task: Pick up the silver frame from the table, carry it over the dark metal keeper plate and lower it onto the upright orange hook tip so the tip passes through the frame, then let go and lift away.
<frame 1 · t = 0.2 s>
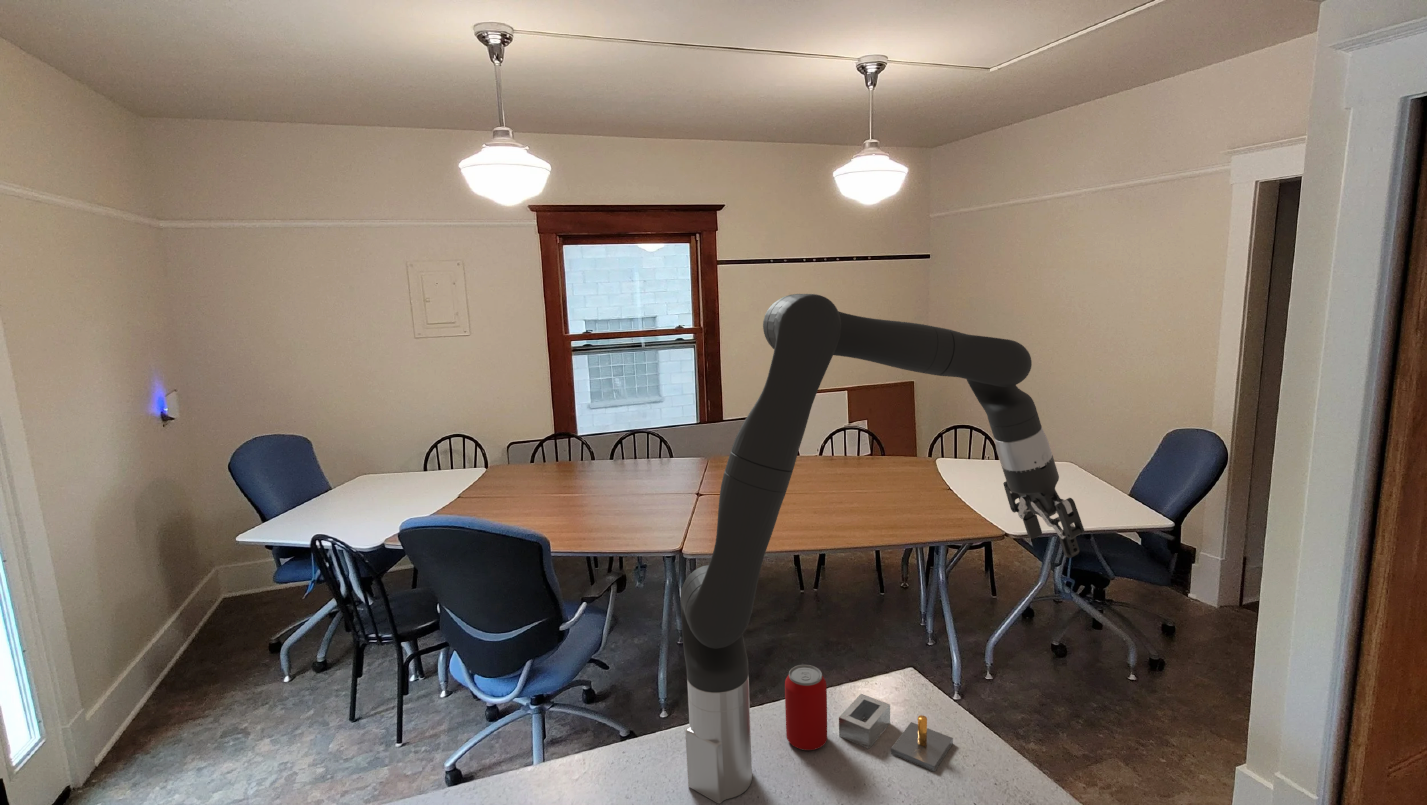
hand: (1053, 545, 108), 31 cm above the table, tool tilted 20°, fingers open, 8 cm apart
beverage can: (806, 741, 110), on the table
keeper: (922, 748, 107), on the table
silver frame: (864, 729, 112), on the table
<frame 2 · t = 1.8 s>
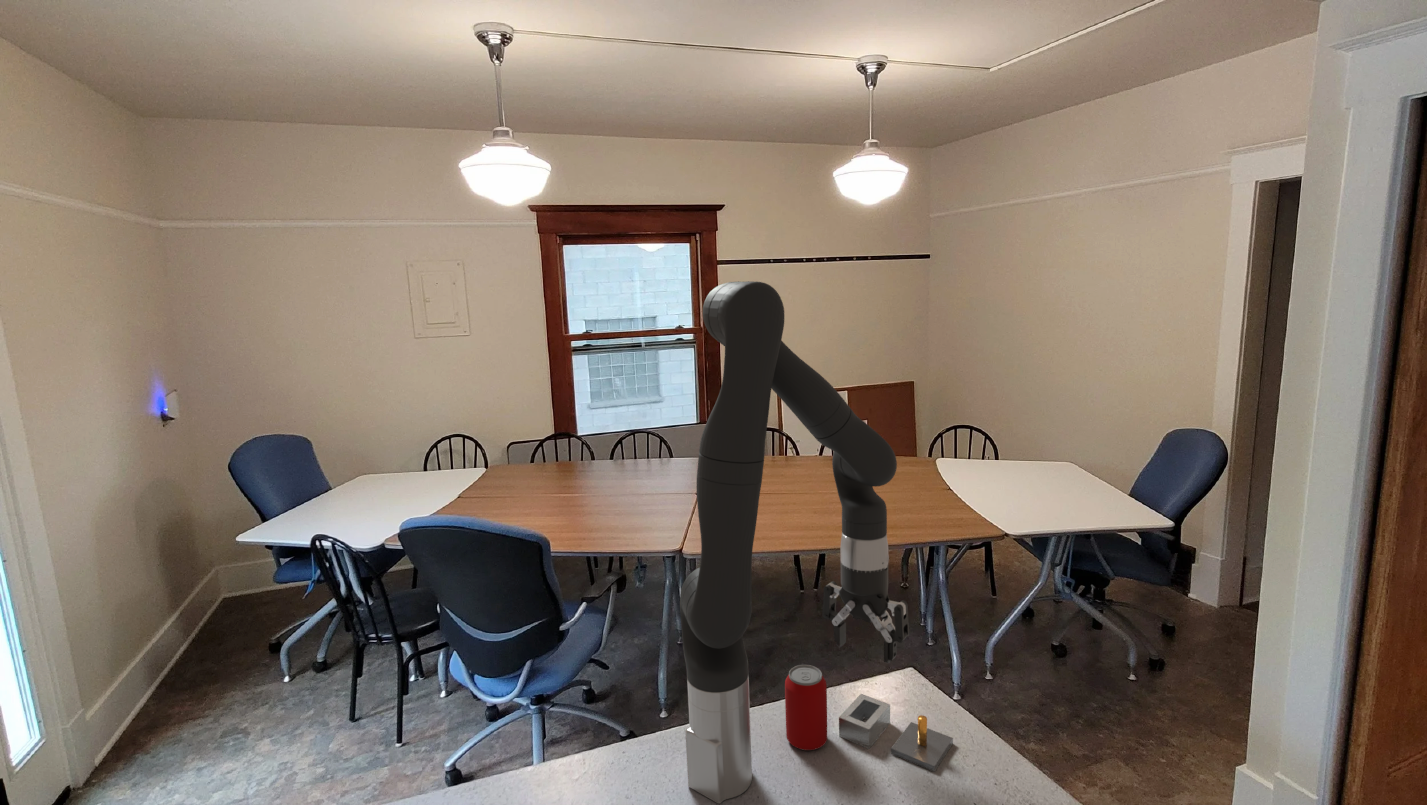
hand: (864, 652, 110), 14 cm above the table, tool pointing down, fingers open, 8 cm apart
nothing on the table moved.
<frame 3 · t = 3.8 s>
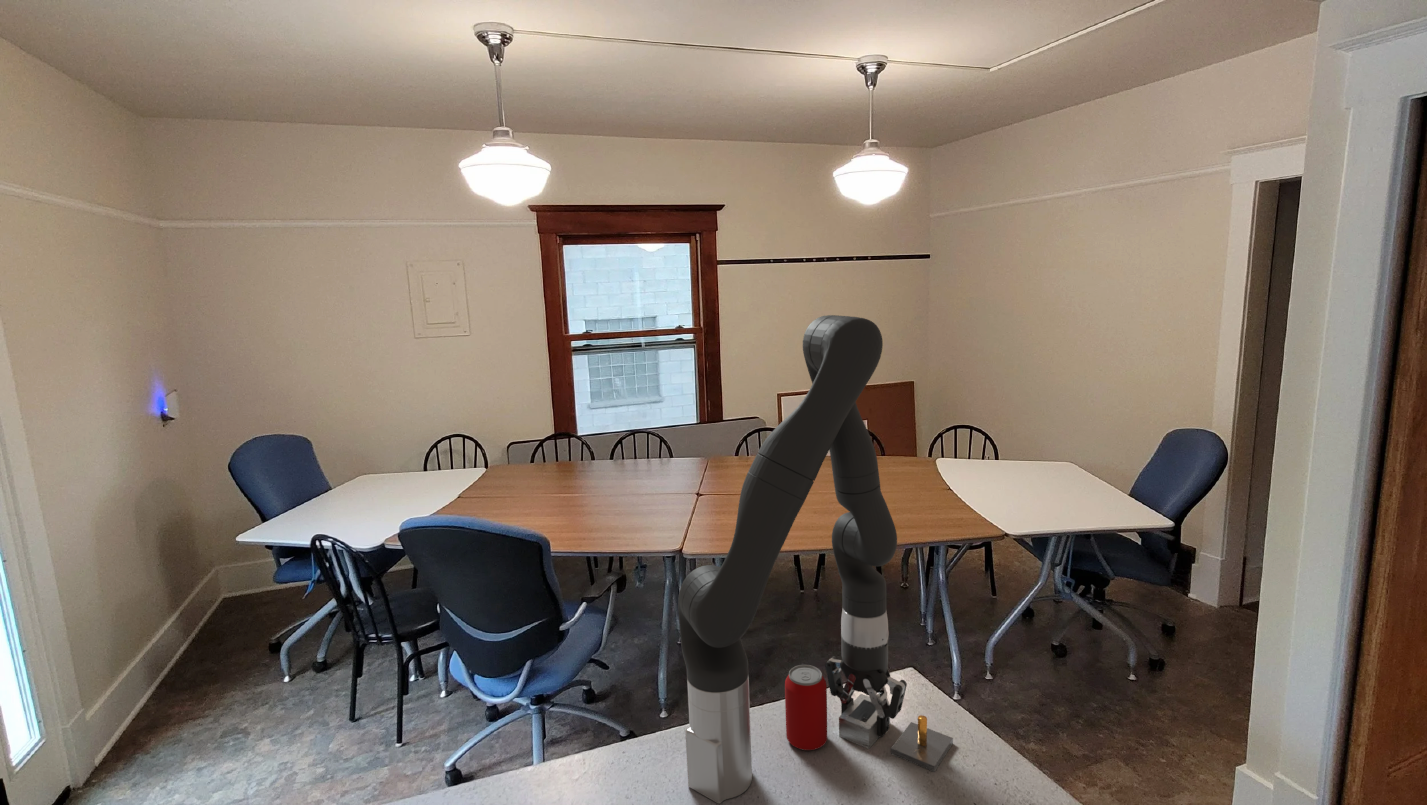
hand: (865, 726, 112), 0 cm above the table, tool pointing down, fingers closed on silver frame, 5 cm apart
silver frame: (864, 729, 112), on the table, touching gripper
everything else where it was.
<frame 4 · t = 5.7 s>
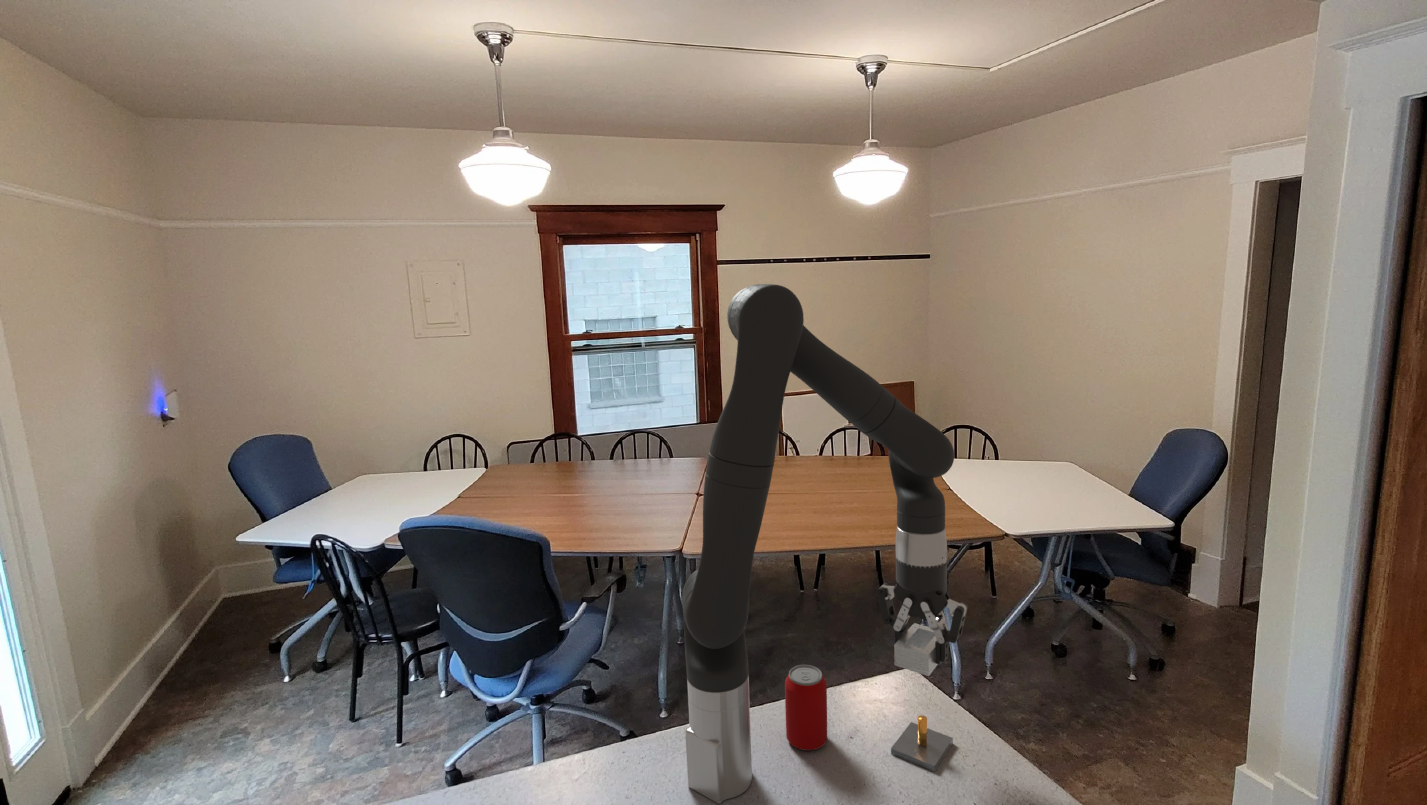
hand: (921, 655, 105), 16 cm above the table, tool pointing down, fingers closed on silver frame, 5 cm apart
silver frame: (921, 658, 105), point 15 cm above the table, touching gripper
everything else where it was.
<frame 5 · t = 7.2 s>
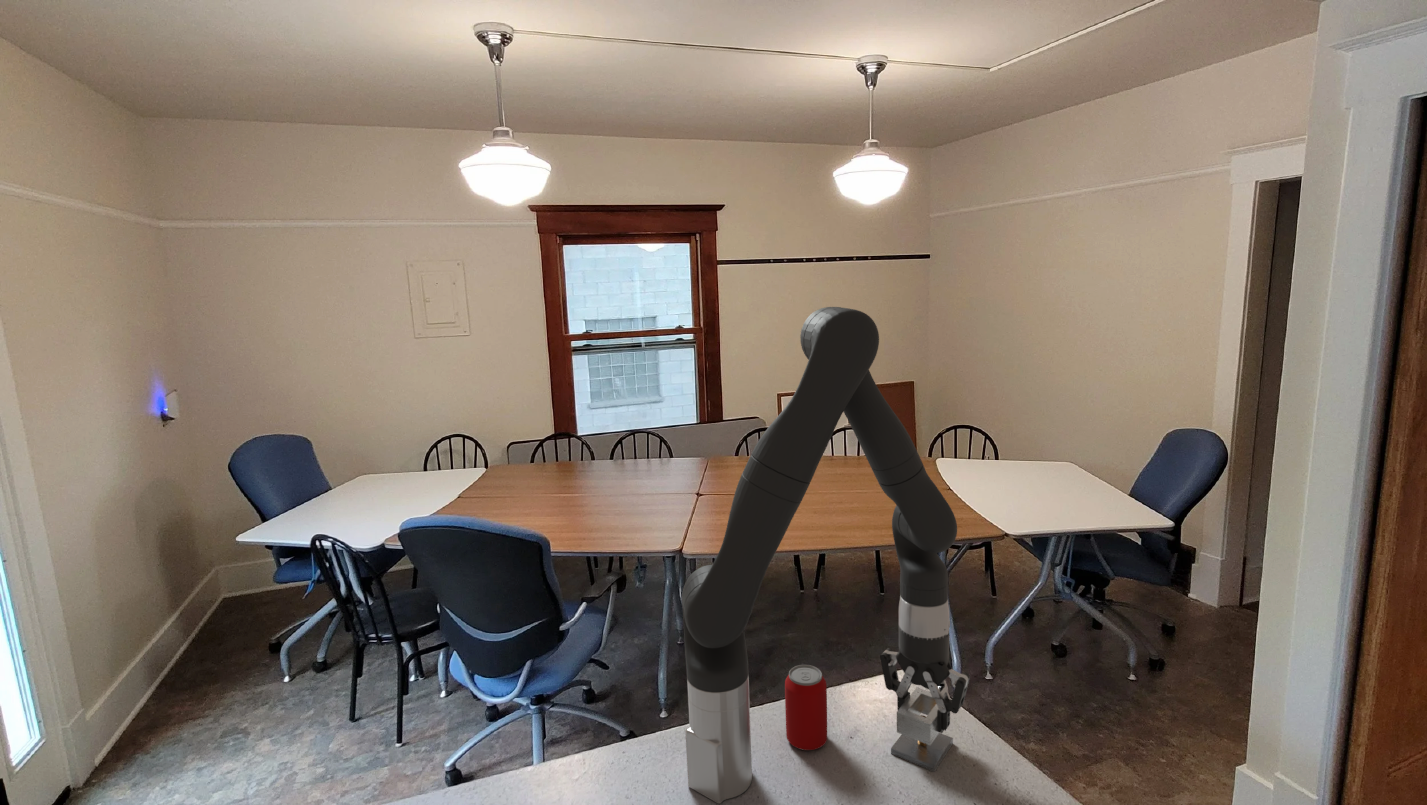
hand: (923, 722, 106), 5 cm above the table, tool pointing down, fingers closed on silver frame, 5 cm apart
silver frame: (923, 725, 106), point 4 cm above the table, touching gripper
everything else where it was.
when the fingers open (2 cm above the table, at t = 8.1 s): silver frame stays where it is, resting on keeper.
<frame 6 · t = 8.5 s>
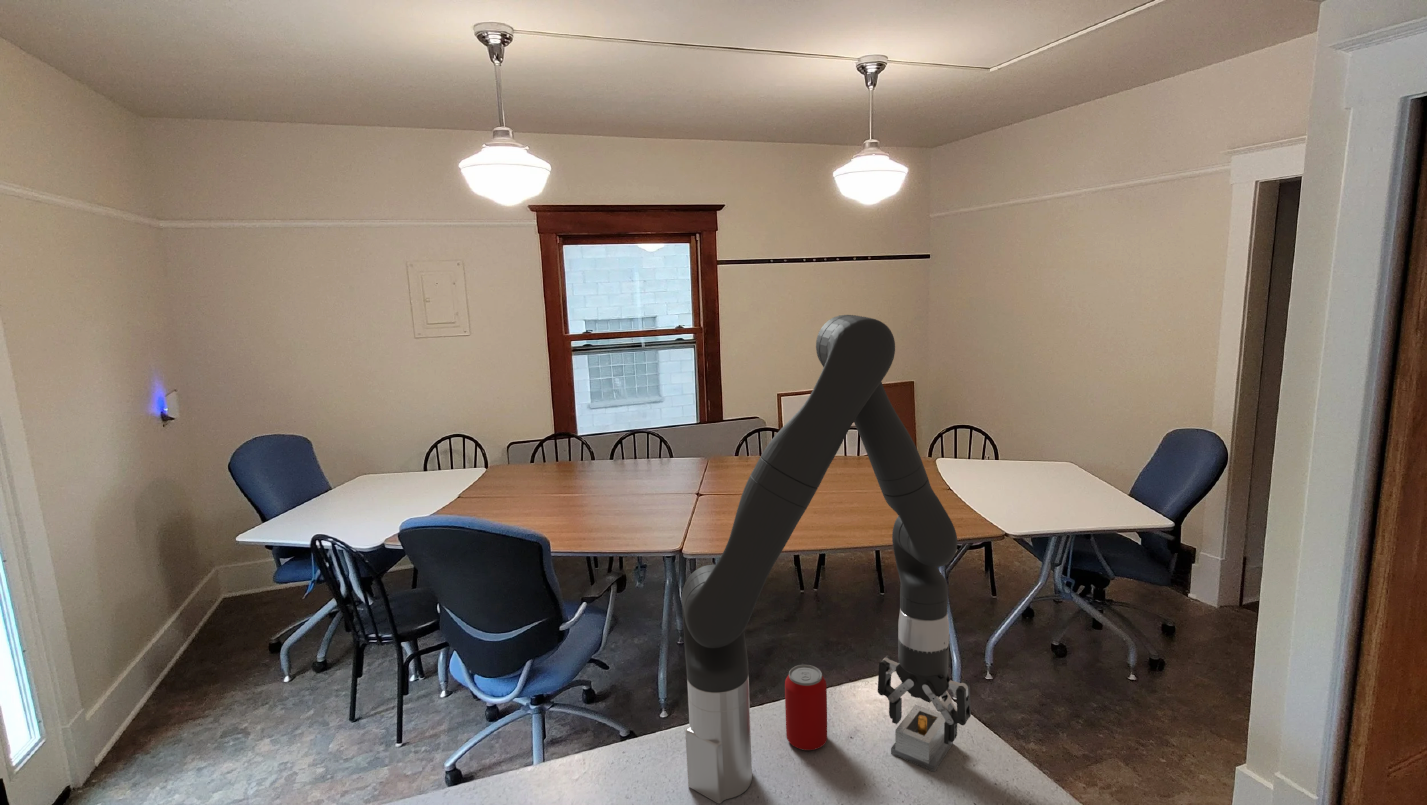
hand: (922, 731, 107), 3 cm above the table, tool pointing down, fingers open, 8 cm apart
silver frame: (921, 742, 107), point 1 cm above the table, touching keeper
everything else where it was.
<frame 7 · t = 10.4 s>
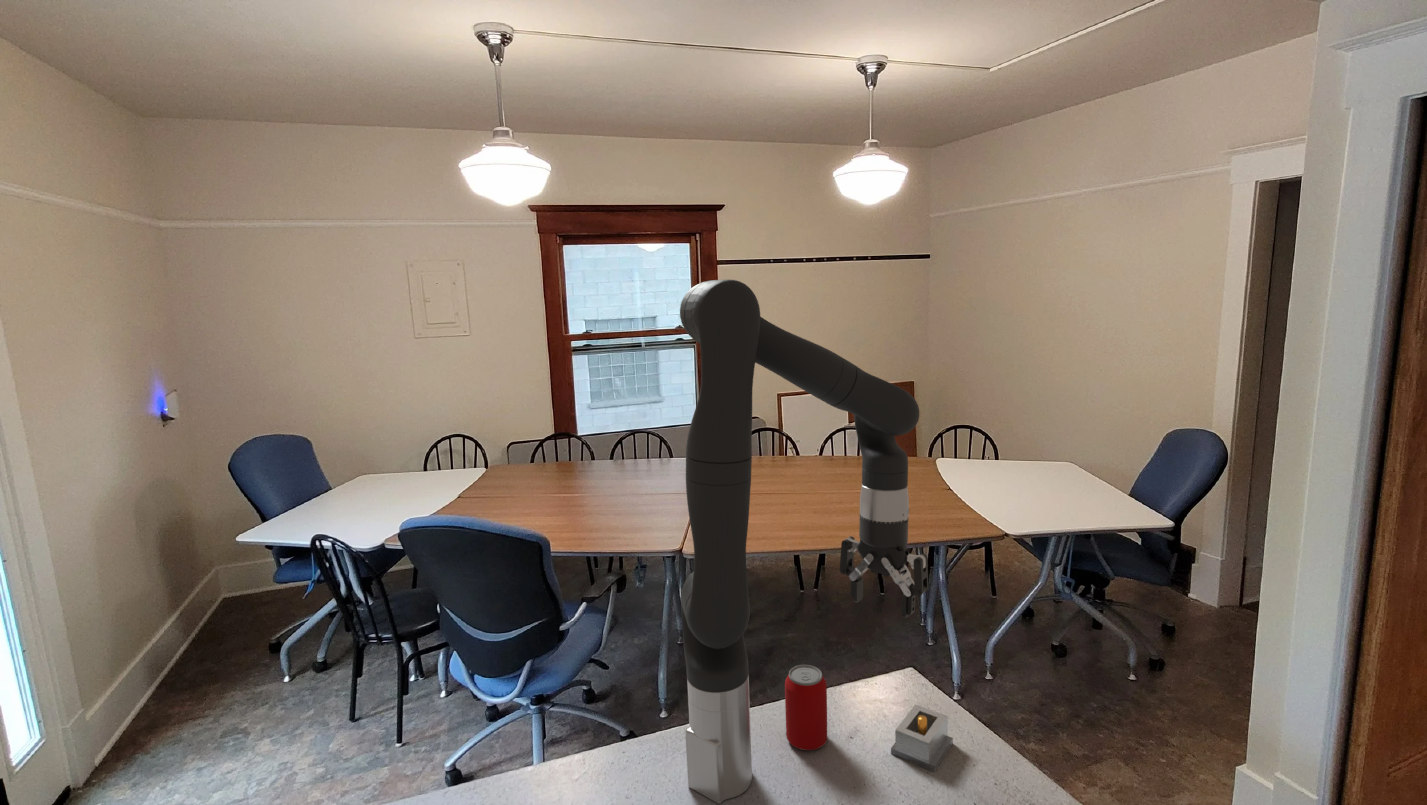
hand: (881, 608, 108), 22 cm above the table, tool pointing down, fingers open, 8 cm apart
nothing on the table moved.
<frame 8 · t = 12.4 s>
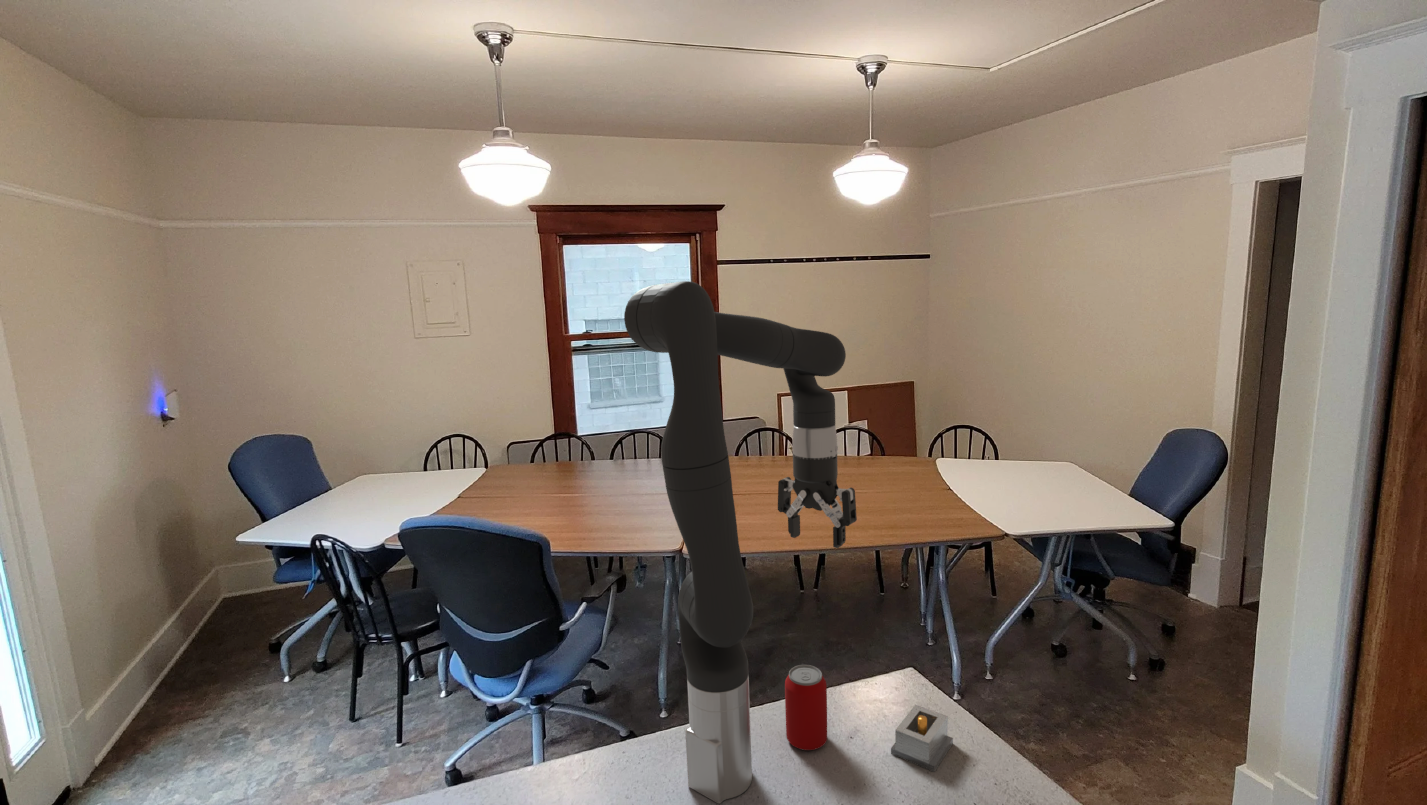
hand: (816, 541, 116), 30 cm above the table, tool pointing down, fingers open, 8 cm apart
nothing on the table moved.
at the end: silver frame 0.1 cm off-centre on the keeper, point 1.0 cm above the keeper's base; the gripper is holding nothing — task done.
